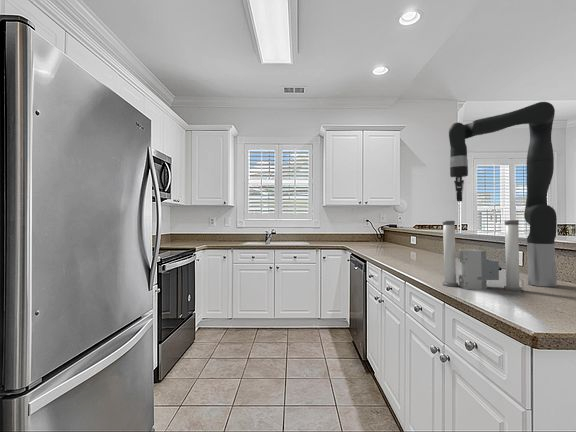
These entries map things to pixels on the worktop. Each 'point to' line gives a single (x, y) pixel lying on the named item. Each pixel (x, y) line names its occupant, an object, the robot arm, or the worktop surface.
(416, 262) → the worktop surface
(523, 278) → the worktop surface
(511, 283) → the post
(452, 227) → the post
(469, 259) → the circuit breaker
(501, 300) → the worktop surface
